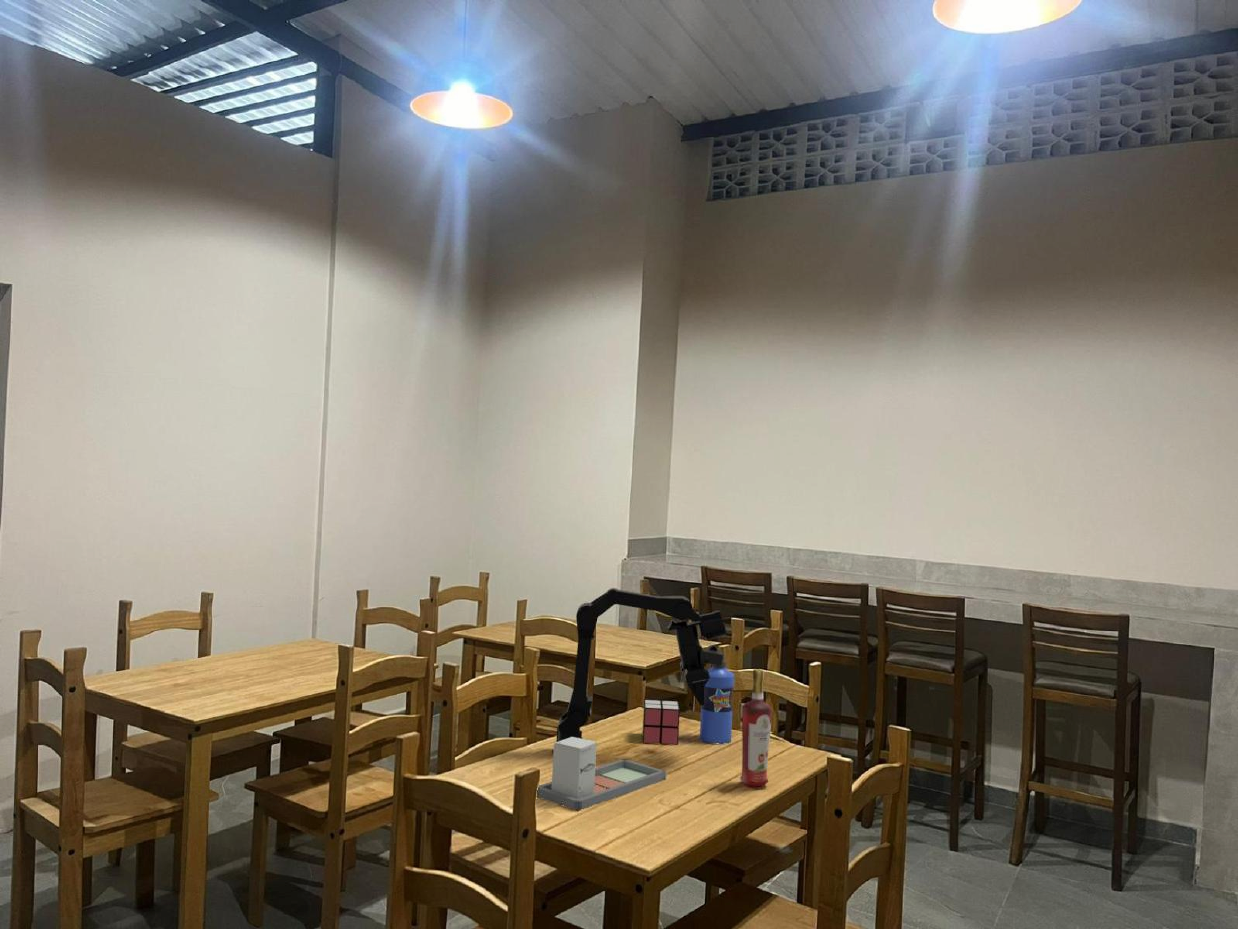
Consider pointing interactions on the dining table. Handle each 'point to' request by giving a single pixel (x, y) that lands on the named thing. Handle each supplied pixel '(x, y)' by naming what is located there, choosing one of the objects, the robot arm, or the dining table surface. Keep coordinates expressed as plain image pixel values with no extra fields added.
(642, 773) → the shallow tray
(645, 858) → the dining table surface
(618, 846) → the dining table surface
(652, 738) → the puzzle cube
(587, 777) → the supplement box
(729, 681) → the water bottle
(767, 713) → the liquor
